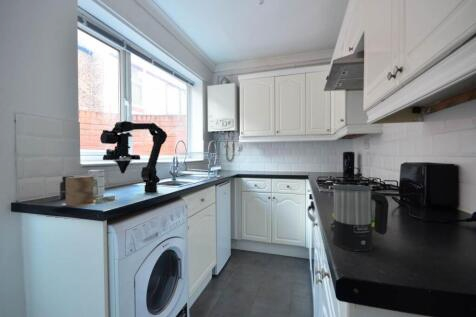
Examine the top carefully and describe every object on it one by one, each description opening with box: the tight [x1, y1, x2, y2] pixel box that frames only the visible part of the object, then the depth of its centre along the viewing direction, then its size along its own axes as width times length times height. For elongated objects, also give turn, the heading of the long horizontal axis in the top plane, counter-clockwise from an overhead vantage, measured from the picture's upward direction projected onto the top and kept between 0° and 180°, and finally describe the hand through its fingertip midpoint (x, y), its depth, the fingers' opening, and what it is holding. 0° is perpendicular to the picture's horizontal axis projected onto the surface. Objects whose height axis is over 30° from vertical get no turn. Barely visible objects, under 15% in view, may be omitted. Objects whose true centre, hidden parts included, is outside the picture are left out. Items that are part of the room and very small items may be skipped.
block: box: [65, 175, 94, 207], centre depth 98 cm, size 8×6×12 cm
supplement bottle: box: [58, 175, 75, 200], centre depth 114 cm, size 7×7×12 cm
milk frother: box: [330, 184, 389, 252], centre depth 60 cm, size 14×16×15 cm
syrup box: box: [88, 169, 106, 195], centre depth 126 cm, size 6×6×14 cm
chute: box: [60, 193, 122, 208], centre depth 103 cm, size 19×14×3 cm
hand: (122, 173), depth 120 cm, fingers closed
